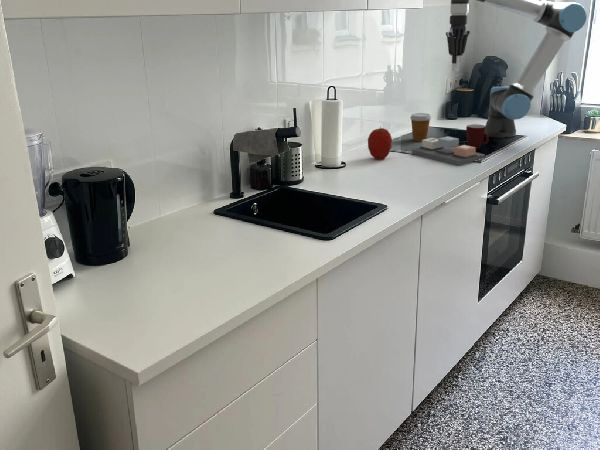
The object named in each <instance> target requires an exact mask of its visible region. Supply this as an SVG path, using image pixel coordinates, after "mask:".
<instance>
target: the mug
mask: <svg viewBox="0 0 600 450" xmlns="http://www.w3.org/2000/svg"><path fill="white" fill-rule="evenodd" d="M485 127H486V126H485V124H484V125H483V124H476V123H475V124H468V125H466V128H465V133H466V134H465V136H466V143H467V146H472V147H476V150H479V149H480V148H481V146H482V145H486V144H488V143H489V140H490V137H489V136H488V134H486V133H485ZM484 138H485V141H484Z"/></svg>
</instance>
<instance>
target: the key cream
mask: <svg viewBox="0 0 600 450" xmlns="http://www.w3.org/2000/svg"><path fill="white" fill-rule="evenodd" d="M421 146H422V147H426V148H430V149H435V148H440V147H442V146H438V138H434V137H430V138H427V139H424V140H422V141H421Z"/></svg>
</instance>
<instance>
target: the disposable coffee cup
mask: <svg viewBox="0 0 600 450" xmlns="http://www.w3.org/2000/svg"><path fill="white" fill-rule="evenodd" d="M431 119H432V117H431V114H430V113H423V112H417V113H416V112H415V113H411V115H410V120H411V131H412V132H411V133H412V141H414V142H422V140H424V139H428V133H429V127H430V121H431Z"/></svg>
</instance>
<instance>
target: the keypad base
mask: <svg viewBox="0 0 600 450" xmlns="http://www.w3.org/2000/svg"><path fill="white" fill-rule="evenodd" d="M411 155H413V156H414V155H416V156H418V157H423V158H425V159H431V160H435V161H439V162H442V163H445V164H450V165H454V166H458V167H459V166H462V165H467V164H471V163H474V162H473V161H475V160H479V159H482V158H485V159H486V154H484V153H480V152H475V155H472V156H467V157H463V156H459V155H455V154H454V147H451V148H447V147H440V148H435V149H430V148H426V147H422V145H421V146H419V147H418V148H412V149H411Z"/></svg>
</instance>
